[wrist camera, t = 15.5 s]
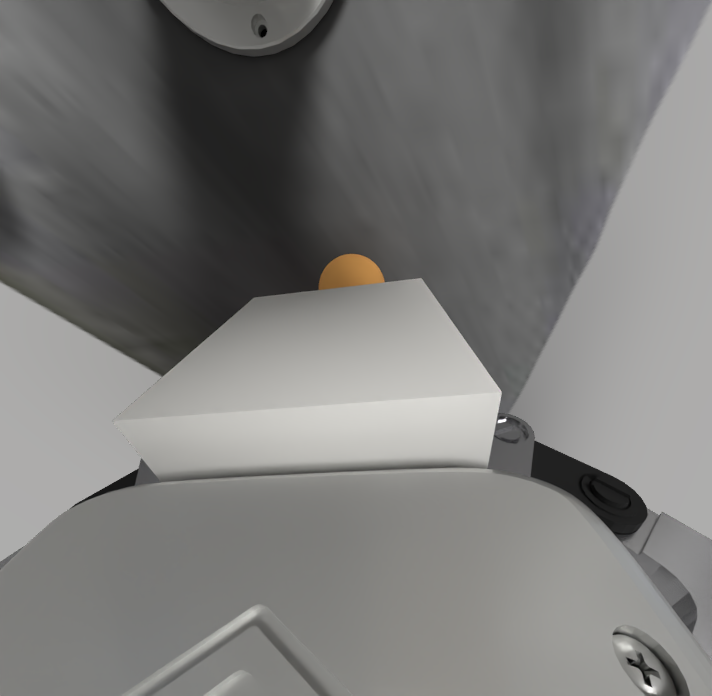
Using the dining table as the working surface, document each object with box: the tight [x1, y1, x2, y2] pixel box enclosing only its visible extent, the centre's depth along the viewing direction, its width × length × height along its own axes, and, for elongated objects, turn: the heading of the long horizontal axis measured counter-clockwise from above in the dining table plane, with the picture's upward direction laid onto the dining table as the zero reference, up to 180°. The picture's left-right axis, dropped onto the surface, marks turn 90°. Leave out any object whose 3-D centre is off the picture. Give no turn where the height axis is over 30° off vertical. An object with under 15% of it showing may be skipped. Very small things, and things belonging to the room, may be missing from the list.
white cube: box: [112, 278, 502, 482], centre depth 10 cm, size 8×8×8 cm
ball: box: [319, 254, 385, 290], centre depth 20 cm, size 5×5×5 cm
